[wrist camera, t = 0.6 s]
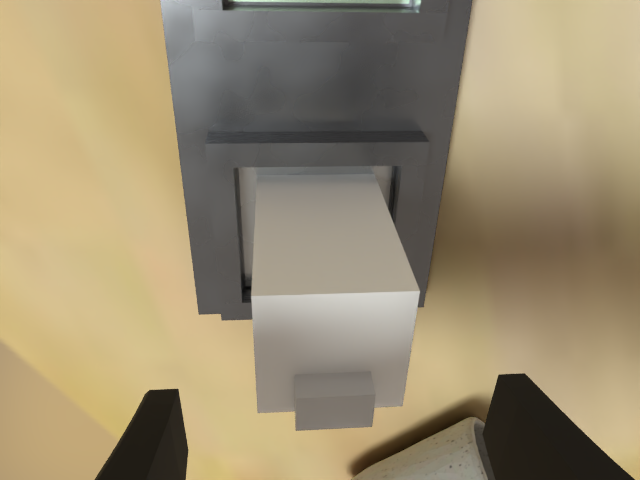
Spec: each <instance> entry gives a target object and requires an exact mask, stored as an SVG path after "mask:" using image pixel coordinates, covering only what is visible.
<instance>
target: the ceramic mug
mask: <svg viewBox="0 0 640 480" xmlns="http://www.w3.org/2000/svg"><path fill="white" fill-rule="evenodd" d="M484 426H485V423H484V422H483V421H481V420H480V419H478V418H477V417H469V418H466V419H464V420H462V421H460V422H458V423H456V424H455V425H453V426H451V427H449V428H447V429H445V430H443V431H440V432H438V433H436V434H434V435H432V436H430V437H428V438H426V439H424V440H422V441H420V442H418V443H416V444H414V445H412V446H410V447H408V448H407V449H405V450H403V451H401V452H399V453H397V454H394V455H392V456H390V457H388V458H386V459H384V460H382V461H380V462H378V463H375V464H373V465H371V466H370V467H368V468H366V469H365V470H363V471H362V472H360V473H359V474H358V475H356V476H355V477H353V478H352V479H351V480H495V477H494V474H493V470H492V467H491V464H490V460H489V457H488V453H487V449H486V446H485V442H484V438H483V435H482V433H483V430H484Z"/></svg>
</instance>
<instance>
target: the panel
mask: <svg viewBox="0 0 640 480" xmlns="http://www.w3.org/2000/svg"><path fill="white" fill-rule="evenodd" d="M160 2H161V10H162V18H163V26H164V35H165V43H166V51H167V59H168V67H169V75H170V83H171V92H172V100H173V108H174V116H175V124H176V132H177V140H178V149H179V157H180V165H181V173H182V181H183V189H184V197H185V206H186V214H187V222H188V230H189V238H190V246H191V255H192V263H193V271H194V279H195V287H196V295H197V303H198V312H199V314H221V318H222V320H249V319H252V301H251V290H252V269H253V248H254V227H255V205H256V184H257V175H336V174H375V177H376V179H377V182H378V185H379V187H380V190H381V192H382V195H383V197H384V200H385V203H386V205H387V208H388V210H389V213H390V215H391V218H392V221H393V223H394V226H395V228H396V231H397V233H398V236H399V239H400V241H401V244H402V246H403V249H404V251H405V254H406V257H407V259H408V262H409V264H410V267H411V269H412V272H413V274H414V277H415V280H416V282H417V285H418V287H419V290H420V294H419V301H418V307H424V301H425V294H426V288H427V282H428V276H429V269H430V263H431V257H432V251H433V244H434V238H435V232H436V225H437V219H438V213H439V207H440V200H441V194H442V188H443V181H444V175H445V169H446V163H447V156H448V150H449V144H450V137H451V131H452V125H453V119H454V112H455V106H456V100H457V94H458V87H459V81H460V75H461V68H462V62H463V56H464V50H465V43H466V37H467V31H468V24H469V18H470V12H471V6H472V0H160Z"/></svg>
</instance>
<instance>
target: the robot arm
mask: <svg viewBox="0 0 640 480" xmlns="http://www.w3.org/2000/svg"><path fill="white" fill-rule="evenodd" d="M482 435H483V438H484V442H485V446H486V449H487V453H488V457H489V460H490V464H491V467H492V470H493V474H494V477H495V480H635V479H634V478H632V477H631V476H630V475H629V474H628V473H627V472H625V471H624V470H623V469H622V468H621V467H620V466H619V465H618V464H617V463H615V462H614V461H613V460H612V459H611V458H610V457H609V456H608V455H607V454H606V453H605V452H604V451H603V450H601V449H600V448H599V447H598V446H597V445H596V444H595V443H594V442H593V441H592V440H591V439H590V438H589V437H588V436H587V435H586V434H585V433H584V432H583V431H582V430H581V429H580V428H578V427H577V426H576V425H575V424H574V423H573V422H572V421H571V420H570V419H569V418H568V417H567V416H566V415H565V414H564V413H563V412H562V411H561V410H560V409H559V408H558V407H557V406H556V405H555V404H554V403H553V402H552V401H551V400H550V399H549V398H548V397H547V396H546V395H545V394H544V393H543V391H542V390H541V389H540V388H539V387H538V386H537V385H536V384H535V383H534V382H533V381H532V380H531V379H530V378H529V377H528V376H527V375H526V374H503V375H499V376H498V379H497V383H496V386H495V390H494V394H493V397H492V401H491V404H490V408H489V412H488V415H487V419H486V423H485V426H484V430H483V433H482ZM187 457H188V446H187V439H186V433H185V427H184V421H183V415H182V409H181V403H180V397H179V391H178V389H165V390H149V391H148V392H147V393H146V394H145V395H144V397H143V399H142V401H141V403H140V405H139V407H138V409H137V411H136V413H135V414H134V416H133V418H132V420H131V422H130V423H129V425H128V427H127V429H126V430H125V432H124V434H123V435H122V437H121V439H120V440H119V442H118V444H117V446H116V447H115V449H114V450H113V452H112V454H111V455H110V457H109V458H108V460H107V461H106V463H105V464H104V466H103V467H102V469H101V471H100V472H99V474H98V475H97V477H96V478H95V480H185V479H186V469H187Z"/></svg>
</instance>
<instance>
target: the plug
mask: <svg viewBox="0 0 640 480" xmlns="http://www.w3.org/2000/svg"><path fill="white" fill-rule="evenodd" d="M419 294H420V290H419V287H418V285H417V282H416V280H415V277H414V274H413V272H412V269H411V267H410V264H409V262H408V259H407V257H406V254H405V251H404V249H403V246H402V244H401V241H400V239H399V236H398V233H397V231H396V228H395V226H394V223H393V221H392V218H391V215H390V213H389V210H388V208H387V205H386V203H385V200H384V197H383V195H382V192H381V190H380V187H379V185H378V182H377V179H376V177H375V174H336V175H257V184H256V205H255V227H254V248H253V269H252V290H251V301H252V319H253V337H254V355H255V374H256V392H257V410H258V413H270V412H291V411H295V427H296V431H299V430H319V429H339V428H359V427H372V423H373V414H374V408H376V407H397V406H403V400H404V393H405V386H406V380H407V373H408V367H409V360H410V354H411V347H412V340H413V334H414V327H415V321H416V314H417V307H418V301H419Z"/></svg>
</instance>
